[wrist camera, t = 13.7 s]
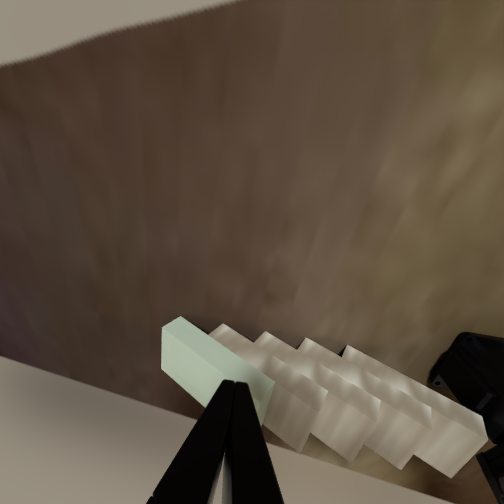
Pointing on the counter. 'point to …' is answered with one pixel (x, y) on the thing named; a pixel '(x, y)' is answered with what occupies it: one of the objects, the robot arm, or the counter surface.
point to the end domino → (433, 418)
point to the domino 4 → (381, 408)
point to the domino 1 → (208, 365)
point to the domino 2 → (279, 389)
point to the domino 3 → (331, 401)
